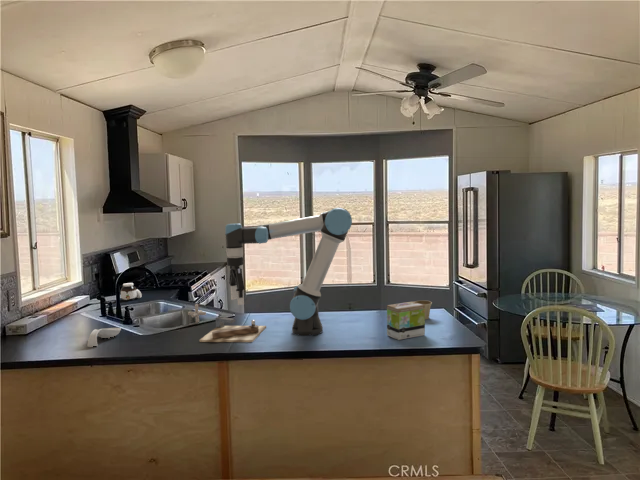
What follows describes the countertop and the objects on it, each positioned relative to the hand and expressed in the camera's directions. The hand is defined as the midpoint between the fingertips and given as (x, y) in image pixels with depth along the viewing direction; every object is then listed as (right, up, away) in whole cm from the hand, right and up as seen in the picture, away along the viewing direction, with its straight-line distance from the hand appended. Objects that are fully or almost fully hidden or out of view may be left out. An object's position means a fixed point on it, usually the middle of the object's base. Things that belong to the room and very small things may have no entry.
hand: (237, 301), depth 222 cm
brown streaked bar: (-2, -17, +8) cm, 19 cm away
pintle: (+6, -13, +11) cm, 18 cm away
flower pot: (+94, -13, +30) cm, 99 cm away
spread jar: (-95, -13, +115) cm, 149 cm away
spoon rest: (-68, -21, +13) cm, 73 cm away
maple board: (-4, -18, +13) cm, 23 cm away
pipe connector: (-29, -17, +40) cm, 52 cm away
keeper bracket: (-10, -16, +23) cm, 30 cm away
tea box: (+79, -16, 0) cm, 81 cm away
